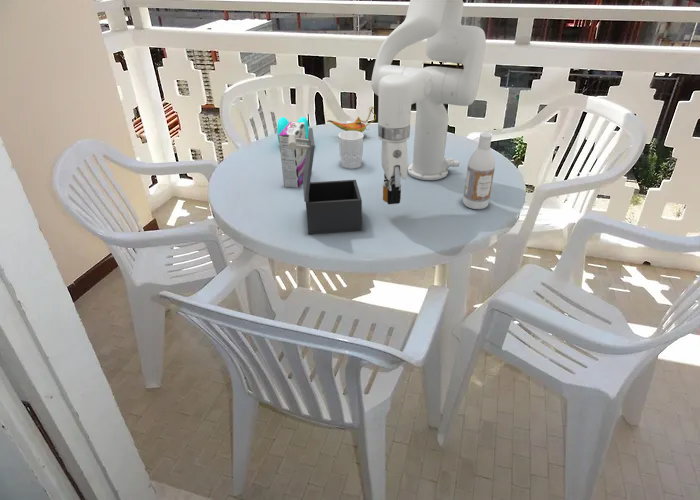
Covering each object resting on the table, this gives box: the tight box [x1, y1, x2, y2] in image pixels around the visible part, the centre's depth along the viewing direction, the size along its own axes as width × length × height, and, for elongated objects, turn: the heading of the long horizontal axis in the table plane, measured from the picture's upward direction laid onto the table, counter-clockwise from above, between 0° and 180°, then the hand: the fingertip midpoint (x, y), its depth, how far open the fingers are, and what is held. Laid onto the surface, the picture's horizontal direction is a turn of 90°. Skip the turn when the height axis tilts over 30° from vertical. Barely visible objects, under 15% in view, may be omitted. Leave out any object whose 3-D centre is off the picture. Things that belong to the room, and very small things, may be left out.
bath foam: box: [462, 132, 496, 210], centre depth 128 cm, size 7×7×20 cm
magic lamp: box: [326, 106, 377, 133], centre depth 173 cm, size 7×18×11 cm, turn 99°
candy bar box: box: [277, 121, 307, 189], centre depth 142 cm, size 11×5×16 cm, turn 168°
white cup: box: [338, 130, 364, 170], centre depth 153 cm, size 8×8×10 cm
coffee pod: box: [382, 180, 402, 203], centre depth 123 cm, size 5×5×4 cm
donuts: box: [276, 116, 310, 144], centre depth 167 cm, size 10×10×10 cm
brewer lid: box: [288, 127, 316, 203], centre depth 116 cm, size 14×12×6 cm
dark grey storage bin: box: [305, 179, 363, 235], centre depth 124 cm, size 14×12×9 cm
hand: (391, 197), depth 124 cm, fingers closed on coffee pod, 4 cm apart
